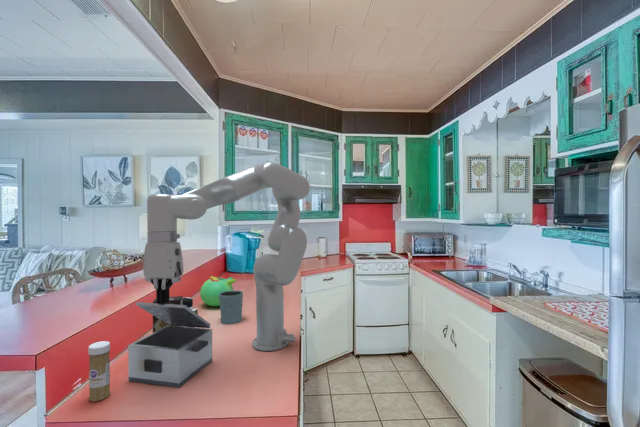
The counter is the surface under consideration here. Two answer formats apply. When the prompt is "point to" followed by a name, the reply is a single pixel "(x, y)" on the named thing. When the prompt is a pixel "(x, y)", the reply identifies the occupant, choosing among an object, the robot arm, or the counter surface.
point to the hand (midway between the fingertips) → (162, 302)
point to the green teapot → (215, 289)
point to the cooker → (170, 356)
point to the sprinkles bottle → (99, 370)
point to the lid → (175, 314)
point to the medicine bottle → (189, 305)
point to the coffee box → (159, 323)
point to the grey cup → (231, 306)
